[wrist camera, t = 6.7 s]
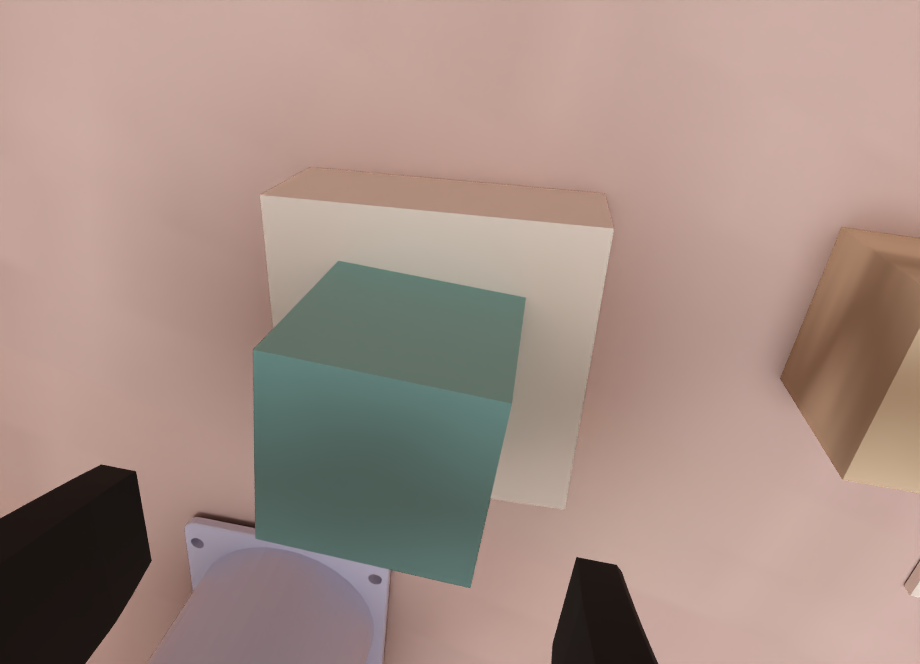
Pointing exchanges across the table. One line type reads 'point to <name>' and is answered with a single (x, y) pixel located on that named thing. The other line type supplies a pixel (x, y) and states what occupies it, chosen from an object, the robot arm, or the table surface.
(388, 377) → the teal block
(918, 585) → the tile
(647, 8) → the table surface
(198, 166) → the table surface
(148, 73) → the table surface
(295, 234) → the base block
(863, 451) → the birch block
